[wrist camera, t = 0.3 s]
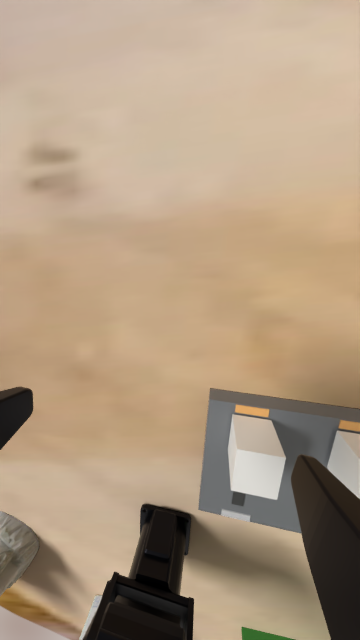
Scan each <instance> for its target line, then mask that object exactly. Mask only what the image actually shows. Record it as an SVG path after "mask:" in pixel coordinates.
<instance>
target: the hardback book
mask: <svg viewBox="0 0 360 640" xmlns="http://www.w3.org/2000/svg"><path fill="white" fill-rule="evenodd" d="M242 640H294V639H290V638H286V637H282V636H278V635H274V634H270V633H265V632H261V631H257V630H253V629H249V628H245V627H242Z"/></svg>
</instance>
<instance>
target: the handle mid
mask: <svg viewBox="0 0 360 640" xmlns="http://www.w3.org/2000/svg"><path fill="white" fill-rule="evenodd" d="M327 468H328V470H329V471H330V472H331V473H332V474H333V475H334V476H335V477H336V478H337V479H339V480H340V481H341V482H342V483H343V484H344V485H345V486H346V487H347V488H348V489H349V490H350V491H351V492H352V493H354V494H355V495H356V496H357V497H358V498H359V499H360V434H356V433H350V432H343V431H337V432H336V436H335V440H334V443H333V447H332V451H331V455H330V458H329V462H328V466H327Z"/></svg>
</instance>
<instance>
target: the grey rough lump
mask: <svg viewBox="0 0 360 640" xmlns="http://www.w3.org/2000/svg"><path fill="white" fill-rule="evenodd" d="M38 549H39V541H38V538H37V537H36V535H35V533H34V532H33V531H32V530H31V528H30V527H28V526H27V525H26V524H25V523H23V522H22V521H20V520H19V519H17V518H15V517H13V516H11V515H10V516H9V514H8V515H7V513H4V512H2V511H0V596H1V595H2V594H3V592H4V591H5V590H6V589H7V588H10V587H11V586H12V585H13V583H15V582H16V581H17V579H18V578H20V577H21V576H22V574H23V573H24V572H25V570H26V569H27V567H28V566H29V565H30V563H31V562H32V560H33V558H34V557H35V555H36V553H37V551H38Z"/></svg>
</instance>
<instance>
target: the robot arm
mask: <svg viewBox="0 0 360 640" xmlns="http://www.w3.org/2000/svg"><path fill="white" fill-rule="evenodd" d="M32 412H33V393H32V390H31V389H28V388H24V387H16V388H12V389H8V390H4V391H0V450H1V449H2V448H3V446H4V445H5V444H6V443H7V442H8V441H9V440H10V438H11V437H12V436H13V435H14V434H15V433H16V432H17V431H18V429H19V428H20V427H21V426H22V425H23V424H24V423H25V421H26V420H27V419H28V418H29V417H30V416H31V414H32ZM291 486H292V490H293V495H294V500H295V505H296V509H297V514H298V519H299V524H300V528H301V533H302V538H303V542H304V547H305V551H306V555H307V559H308V562H309V566H310V569H311V573H312V576H313V579H314V583H315V586H316V590H317V593H318V596H319V600H320V603H321V607H322V610H323V613H324V617H325V620H326V623H327V627H328V630H329V634H330V637H331V640H360V499H359V498H358V497H357V496H356V495H355V494H354V493H352V492H351V491H350V490H349V489H348V488H347V487H346V486H345V485H344V484H343V483H342V482H341V481H340V480H339V479H337V478H336V477H335V476H334V475H333V474H332V473H331V472H330V471H329V470H328V469H327V468H326V467H325V466H324V465H322V464H321V463H320V462H319V461H318V460H317V459H316V458H314V457H311V456H307V455H303V454H300V455H298V457H297V459H296V462H295V465H294V468H293V471H292V474H291ZM190 524H191V517H190V515H188V514H184V513H179V512H175V511H171V510H167V509H162V508H158V507H154V506H149V505H145V504H144V505H142V507H141V514H140V538H139V542H138V545H137V549H136V552H135V556H134V559H133V563H132V566H131V570H130V573H129V577H125V576H122V575H119V573H117V572H114V574H113V576H112V579H111V580H110V581H108V582H107V584H106V587H105V590H104V593H103V596H102V599H101V601H100V604H99V606H98V608H97V611H96V613H95V615H94V617H93V619H92V621H91V623H90V625H89V627H88V629H87V631H86V633H85V635H84V637H83V640H193V612H194V599H193V598H190V597H189V598H186V597H183V596H180V589H181V580H182V571H183V561H184V555H187V554H188V547H189V536H190Z"/></svg>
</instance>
